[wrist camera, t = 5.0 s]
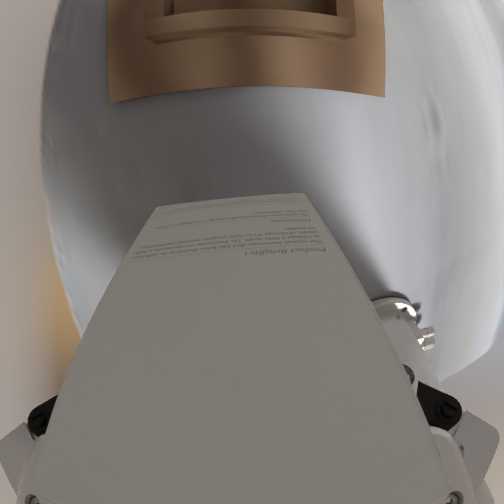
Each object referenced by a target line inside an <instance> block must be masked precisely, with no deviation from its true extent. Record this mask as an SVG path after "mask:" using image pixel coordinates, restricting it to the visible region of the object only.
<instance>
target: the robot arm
mask: <svg viewBox="0 0 504 504" xmlns="http://www.w3.org/2000/svg"><path fill="white" fill-rule="evenodd" d="M371 303H372V305H373V307H374V309H375V311H376V312H377V314H378V316H379V318H380V320H381V322H382V324H383V326H384V328H385V330H386V332H387V334H388V336H389V338H390V340H391V342H392V344H393V346H394V348H395V350H396V352H397V354H398V356H399V358H400V360H401V363H402V365H403V367H404V369H405V371H406V373H407V375H408V378H409V380H410V382H411V384H412V387H413V389H414V391H415V394H416V396H417V398H418V401H419V403H420V405H421V408H422V410H423V412H424V415H425V417H426V420H427V422H428V424H429V427H430V429H431V432H432V434H433V437H434V440H435V442H436V444H437V447H438V449H439V452H440V454H441V457H442V459H443V462H444V465H445V467H446V470H447V472H448V475H449V478H450V481H451V484H452V489H451V490H449V491H448V492H447V493H446V494H445V495H443V496H442V497H441V498H439V499H437V500H435V501H433V502H431V503H429V504H494V500H493V497H492V494H491V492H490V490H489V488H488V486H487V484H486V482H485V480H484V477H485V475H486V472H487V470H488V468H489V466H490V464H491V461H492V459H493V456H494V454H495V451H496V449H497V446H498V443H499V433H498V431H497V430H496V429H495V428H494V427H493V426H491V425H490V424H488V423H486V422H485V421H483V420H481V419H480V418H478V417H477V416H475V415H473V414H472V413H470V412H468V411H465V412H463V411H462V408H461V405H460V403H459V402H458V401H457V399H455V398H454V397H452V396H450V395H448V394H446V393H445V392H444V390H443V388H442V386H441V384H440V382H439V380H438V378H437V376H436V374H435V372H434V370H433V368H432V366H431V364H430V362H429V360H428V358H427V356H426V354H425V352H424V350H428V349H431V348H433V347H434V344H435V340H434V337H433V335H434V333H435V330H434V328H433V327H427V328H424V329H419V328H418V326H417V324H416V320H417V316H416V312H415V310H414V308H413V306H412V305H411V304H410V303H409V302H408V301H407V300H405V299H402V298H398V297H389V298H381V299H378V300H374V301H371ZM57 397H58V395H56V396H55V397H53V398H51V399H50V400H48V401H46V402H44V403H43V404H41V405H39V406H38V407H36V408H35V409H33V410H32V411H31V413H30V414H29V417H28V423H27V424H26V423H25V422H23V423H22V424H21V425H20V426H18V427H17V428H16V429H14V430H13V431H12V432H10V433H9V434H8V435H6V436H5V437H4V438H2V439H1V440H0V462H1V464H2V466H3V469H4V471H5V473H6V475H7V477H8V479H9V481H10V483H11V485H12V487H13V489H14V491H15V493H16V495H17V502H16V504H48V503H46V502H45V501H43V500H42V499H40V498H39V497H38V496H37V495H36V494H35V493H34V492H33V489H32V486H33V481H34V476H35V471H36V467H37V462H38V458H39V454H40V450H41V447H42V443H43V440H44V436H45V433H46V430H47V427H48V424H49V421H50V417H51V414H52V411H53V408H54V405H55V402H56V400H57Z"/></svg>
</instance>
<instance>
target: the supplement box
mask: <svg viewBox="0 0 504 504" xmlns="http://www.w3.org/2000/svg"><path fill="white" fill-rule="evenodd" d="M32 489H33V492H34V493H35V494H36V495H37V496H38V497H39V498H40V499H42V500H43V501H45V502H46V503H48V504H429V503H431V502H433V501H435V500H437V499H439V498H441V497H442V496H443V495H445V494H446V493H447V492H448V491H449V490H451V489H452V484H451V481H450V478H449V475H448V472H447V470H446V467H445V465H444V462H443V459H442V457H441V454H440V452H439V449H438V447H437V444H436V442H435V440H434V437H433V434H432V432H431V429H430V427H429V424H428V422H427V420H426V417H425V415H424V412H423V410H422V408H421V405H420V403H419V401H418V398H417V396H416V394H415V391H414V389H413V387H412V384H411V382H410V380H409V378H408V375H407V373H406V371H405V369H404V367H403V365H402V363H401V360H400V358H399V356H398V354H397V352H396V350H395V348H394V346H393V344H392V342H391V340H390V338H389V336H388V334H387V332H386V330H385V328H384V326H383V324H382V322H381V320H380V318H379V316H378V314H377V312H376V311H375V309H374V307H373V305H372V303H371V301H370V299H369V297H368V295H367V294H366V292H365V290H364V288H363V286H362V284H361V283H360V281H359V279H358V278H357V276H356V274H355V272H354V270H353V269H352V267H351V265H350V264H349V262H348V260H347V258H346V257H345V255H344V253H343V252H342V250H341V248H340V247H339V245H338V244H337V242H336V240H335V239H334V237H333V236H332V234H331V232H330V230H329V229H328V227H327V226H326V224H325V222H324V221H323V219H322V218H321V217H320V215H319V214H318V212H317V211H316V209H315V208H314V206H313V205H312V204H311V202H310V201H309V199H308V197H307V196H306V195H305V193H285V194H269V195H256V196H245V197H234V198H224V199H215V200H206V201H197V202H189V203H181V204H173V205H166V206H157V207H156V208H155V210H154V211H153V213H152V214H151V216H150V217H149V219H148V220H147V222H146V223H145V225H144V226H143V228H142V230H141V231H140V233H139V234H138V236H137V238H136V239H135V241H134V242H133V244H132V246H131V247H130V249H129V251H128V252H127V254H126V256H125V258H124V259H123V261H122V263H121V264H120V266H119V268H118V270H117V271H116V273H115V275H114V276H113V278H112V280H111V282H110V284H109V285H108V287H107V289H106V291H105V293H104V295H103V297H102V299H101V300H100V302H99V304H98V306H97V308H96V310H95V312H94V314H93V316H92V318H91V320H90V322H89V325H88V327H87V329H86V331H85V333H84V335H83V337H82V339H81V342H80V344H79V346H78V348H77V350H76V353H75V355H74V357H73V360H72V362H71V364H70V367H69V369H68V372H67V374H66V377H65V379H64V382H63V385H62V387H61V389H60V392H59V394H58V397H57V400H56V402H55V405H54V408H53V411H52V414H51V417H50V421H49V424H48V427H47V430H46V433H45V436H44V440H43V443H42V447H41V450H40V454H39V458H38V462H37V467H36V471H35V476H34V481H33V486H32Z"/></svg>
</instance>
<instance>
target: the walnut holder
mask: <svg viewBox="0 0 504 504" xmlns="http://www.w3.org/2000/svg"><path fill="white" fill-rule="evenodd" d="M106 41H107V74H108V90H109V102H110V104H111V103H117V102H121V101H126V100H130V99H135V98H141V97H146V96H152V95H158V94H164V93H171V92H179V91H187V90H196V89H207V88H221V87H243V86H283V87H304V88H318V89H329V90H338V91H346V92H354V93H361V94H367V95H373V96H379V97H385V28H384V12H383V0H108V3H107V35H106Z"/></svg>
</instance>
